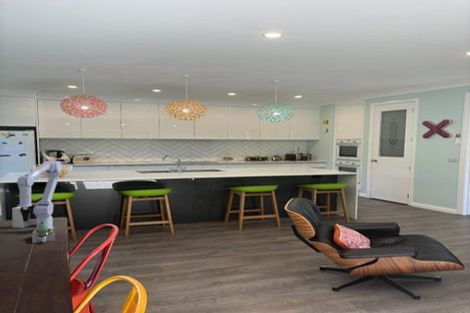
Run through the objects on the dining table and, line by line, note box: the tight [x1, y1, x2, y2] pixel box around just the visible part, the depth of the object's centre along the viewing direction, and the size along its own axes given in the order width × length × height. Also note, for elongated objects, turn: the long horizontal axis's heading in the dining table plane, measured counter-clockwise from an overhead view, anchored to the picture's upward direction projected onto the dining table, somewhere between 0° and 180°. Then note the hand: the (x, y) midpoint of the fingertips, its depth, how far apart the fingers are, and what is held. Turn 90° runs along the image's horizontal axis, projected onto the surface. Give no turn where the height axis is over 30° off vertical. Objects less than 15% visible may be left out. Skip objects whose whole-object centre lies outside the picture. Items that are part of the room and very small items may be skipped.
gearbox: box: [31, 228, 56, 244], centre depth 204 cm, size 20×11×4 cm, turn 29°
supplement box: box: [11, 206, 31, 229], centre depth 236 cm, size 7×7×13 cm
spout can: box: [38, 221, 48, 233], centre depth 208 cm, size 5×5×8 cm
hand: (25, 220), depth 210 cm, fingers open, 7 cm apart
